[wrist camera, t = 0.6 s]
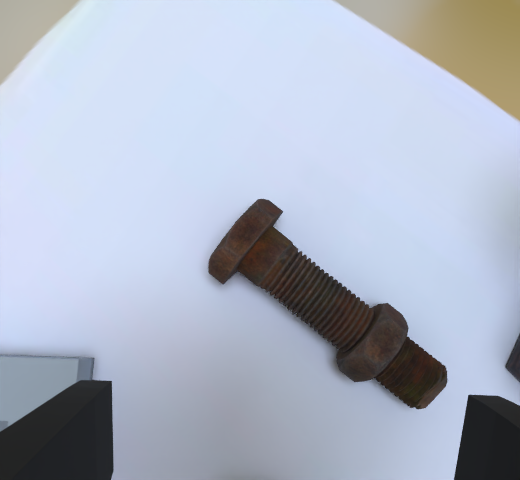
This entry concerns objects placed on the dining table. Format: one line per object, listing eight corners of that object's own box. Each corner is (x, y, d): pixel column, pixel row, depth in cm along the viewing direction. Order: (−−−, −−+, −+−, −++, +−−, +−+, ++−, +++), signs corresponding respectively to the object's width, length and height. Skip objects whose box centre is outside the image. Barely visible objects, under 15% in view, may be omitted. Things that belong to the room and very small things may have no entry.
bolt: (400, 393, 31) (225, 251, 32) (454, 340, 30) (268, 193, 31) (406, 448, 26) (194, 275, 27) (472, 387, 24) (245, 205, 25)
